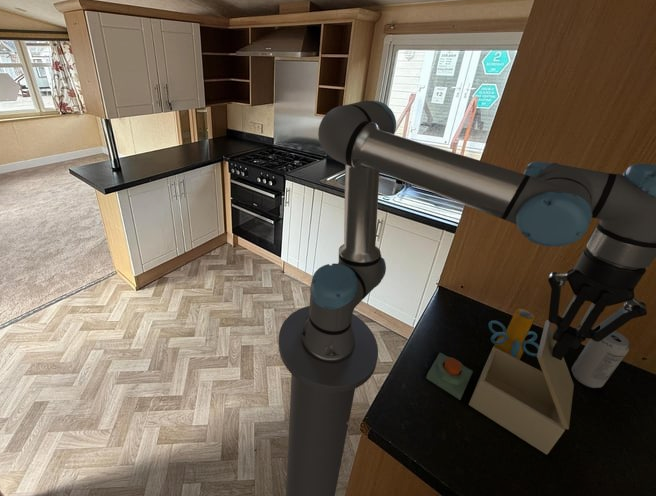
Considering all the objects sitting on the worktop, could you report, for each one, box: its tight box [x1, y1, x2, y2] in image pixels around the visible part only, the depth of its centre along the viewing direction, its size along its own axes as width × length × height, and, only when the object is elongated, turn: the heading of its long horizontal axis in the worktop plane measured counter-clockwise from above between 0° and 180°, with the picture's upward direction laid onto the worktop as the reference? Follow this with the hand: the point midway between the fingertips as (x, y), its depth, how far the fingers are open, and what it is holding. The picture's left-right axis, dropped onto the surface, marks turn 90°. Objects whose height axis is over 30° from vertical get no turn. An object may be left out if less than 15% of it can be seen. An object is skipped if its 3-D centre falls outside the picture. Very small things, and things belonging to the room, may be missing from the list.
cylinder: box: [487, 307, 540, 361], centre depth 82 cm, size 12×10×15 cm
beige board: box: [536, 320, 575, 430], centre depth 63 cm, size 15×13×1 cm
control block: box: [425, 352, 473, 401], centre depth 79 cm, size 8×9×4 cm
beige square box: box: [468, 346, 566, 456], centre depth 71 cm, size 15×13×9 cm
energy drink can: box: [571, 330, 630, 389], centre depth 76 cm, size 6×6×15 cm
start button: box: [444, 357, 462, 375], centre depth 78 cm, size 4×4×2 cm
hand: (557, 354), depth 62 cm, fingers closed
